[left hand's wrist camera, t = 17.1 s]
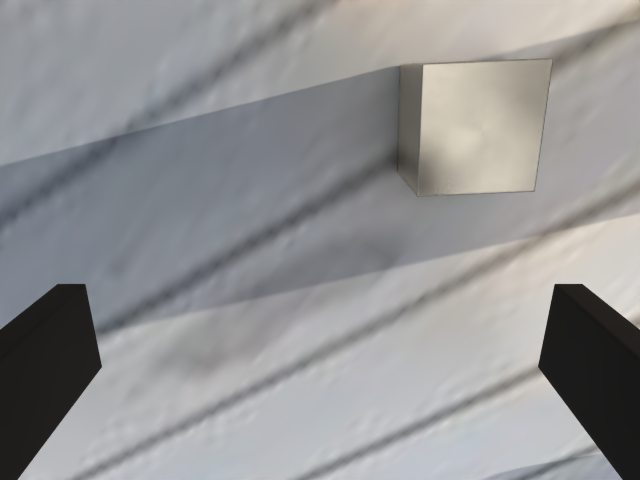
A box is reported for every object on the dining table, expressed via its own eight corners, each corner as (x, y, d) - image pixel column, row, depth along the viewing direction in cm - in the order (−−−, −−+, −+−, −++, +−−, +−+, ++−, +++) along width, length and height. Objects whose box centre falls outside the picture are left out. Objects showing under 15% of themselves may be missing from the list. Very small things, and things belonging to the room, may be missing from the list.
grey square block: (397, 173, 22) (416, 196, 18) (399, 64, 20) (422, 63, 16) (493, 168, 22) (535, 191, 18) (505, 59, 20) (554, 57, 16)
